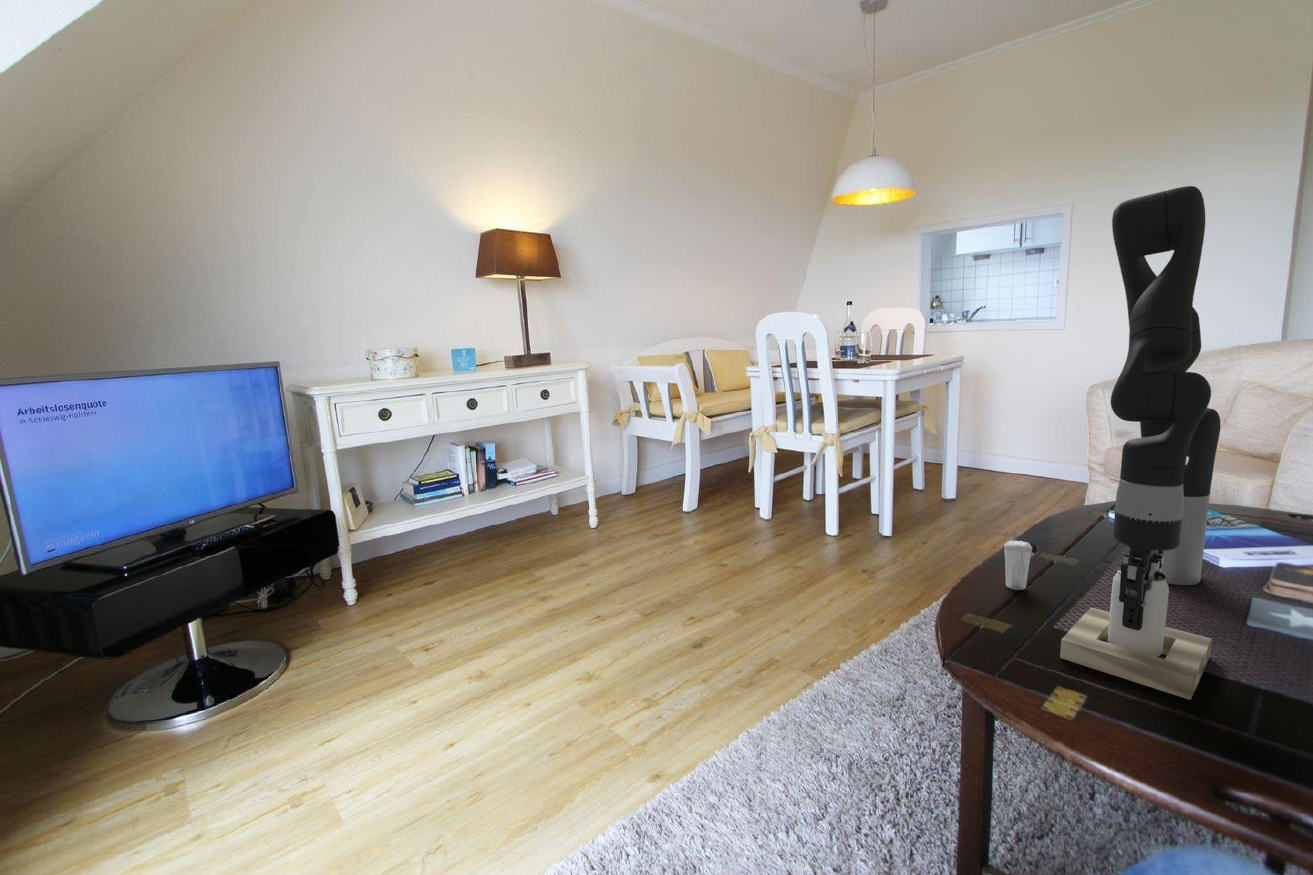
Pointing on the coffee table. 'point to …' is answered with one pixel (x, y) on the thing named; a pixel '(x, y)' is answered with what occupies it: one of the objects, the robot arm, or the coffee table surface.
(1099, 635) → the socket block
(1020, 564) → the milkshake
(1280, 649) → the coffee table surface
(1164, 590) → the can
